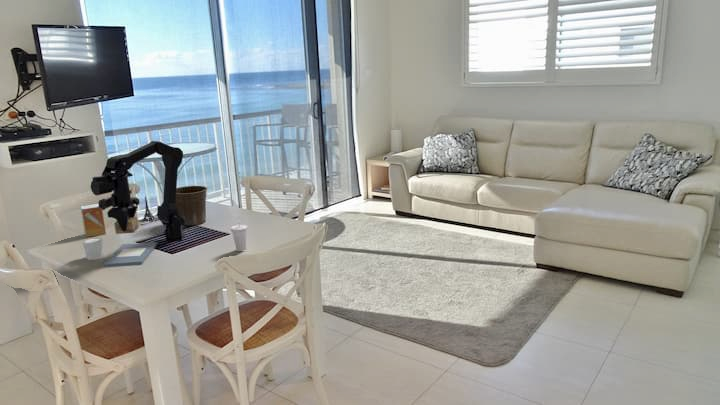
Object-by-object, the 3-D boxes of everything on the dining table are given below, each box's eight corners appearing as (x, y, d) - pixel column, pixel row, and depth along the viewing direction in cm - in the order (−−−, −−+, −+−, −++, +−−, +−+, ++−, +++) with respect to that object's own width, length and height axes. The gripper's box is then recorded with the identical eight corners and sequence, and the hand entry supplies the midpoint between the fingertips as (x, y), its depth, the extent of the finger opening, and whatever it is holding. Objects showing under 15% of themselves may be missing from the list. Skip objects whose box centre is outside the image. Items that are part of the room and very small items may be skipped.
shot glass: (89, 254, 207) (86, 238, 205) (107, 253, 208) (104, 237, 206) (82, 261, 201) (79, 244, 199) (100, 260, 201) (97, 243, 199)
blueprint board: (157, 244, 217) (157, 241, 217) (142, 264, 196) (141, 261, 196) (122, 246, 215) (122, 244, 215) (103, 266, 194) (103, 263, 194)
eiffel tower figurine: (141, 226, 243) (137, 199, 239) (128, 223, 248) (124, 196, 245) (168, 218, 255) (165, 192, 251) (156, 215, 260) (152, 189, 257)
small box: (86, 237, 228) (81, 209, 225) (84, 234, 233) (79, 206, 230) (106, 233, 232) (101, 206, 229) (104, 230, 238) (99, 203, 234)
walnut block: (138, 227, 207) (137, 217, 206) (133, 232, 200) (131, 222, 199) (121, 228, 206) (119, 218, 205) (115, 233, 200) (114, 223, 199)
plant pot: (201, 215, 257) (197, 183, 252) (216, 221, 245) (213, 188, 241) (169, 222, 246) (164, 189, 242) (184, 230, 235) (179, 195, 230)
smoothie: (252, 248, 209) (249, 214, 205) (244, 253, 203) (240, 219, 199) (238, 246, 211) (235, 213, 207) (229, 252, 205) (226, 218, 202)
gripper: (108, 185, 207) (114, 222, 211) (89, 196, 189) (96, 237, 193) (137, 183, 208) (142, 220, 212) (121, 195, 190) (127, 235, 194)
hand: (127, 228), depth 203 cm, fingers closed on walnut block, 7 cm apart
